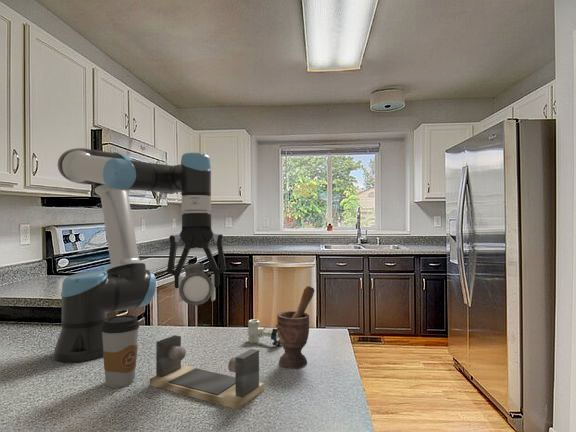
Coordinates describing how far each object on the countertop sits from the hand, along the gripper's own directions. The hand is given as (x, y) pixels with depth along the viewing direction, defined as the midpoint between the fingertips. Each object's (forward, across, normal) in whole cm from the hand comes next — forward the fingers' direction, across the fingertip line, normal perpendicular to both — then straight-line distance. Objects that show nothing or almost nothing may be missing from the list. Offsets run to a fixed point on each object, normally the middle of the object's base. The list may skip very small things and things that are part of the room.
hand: (197, 300), depth 99 cm
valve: (+18, +18, +19) cm, 32 cm away
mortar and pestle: (+18, +26, +2) cm, 32 cm away
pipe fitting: (+1, 0, 0) cm, 1 cm away
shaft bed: (+18, +3, -12) cm, 22 cm away
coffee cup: (+18, -17, -7) cm, 26 cm away
